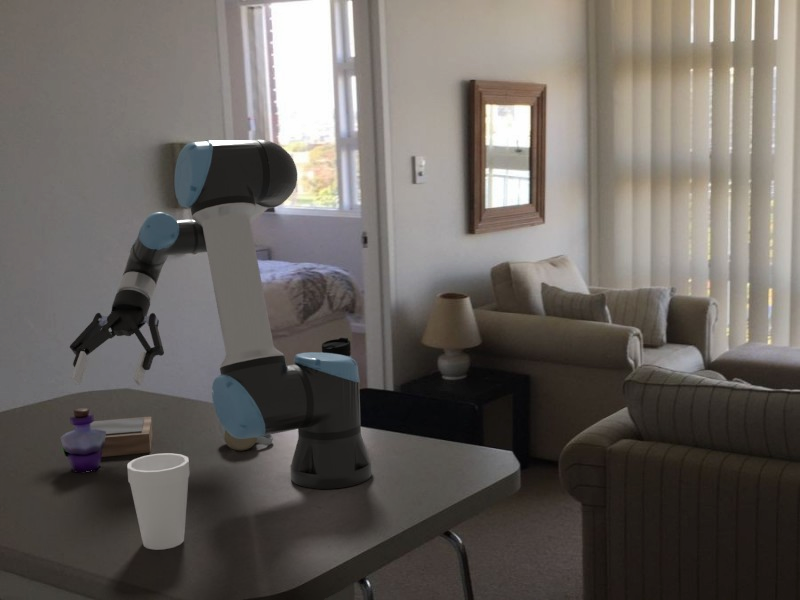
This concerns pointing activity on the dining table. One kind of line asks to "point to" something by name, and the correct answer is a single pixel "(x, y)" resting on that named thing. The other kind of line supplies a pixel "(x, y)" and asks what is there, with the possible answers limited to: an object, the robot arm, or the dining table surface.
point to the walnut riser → (126, 435)
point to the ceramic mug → (243, 440)
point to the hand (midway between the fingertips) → (106, 381)
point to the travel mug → (337, 347)
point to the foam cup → (160, 498)
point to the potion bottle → (83, 442)
